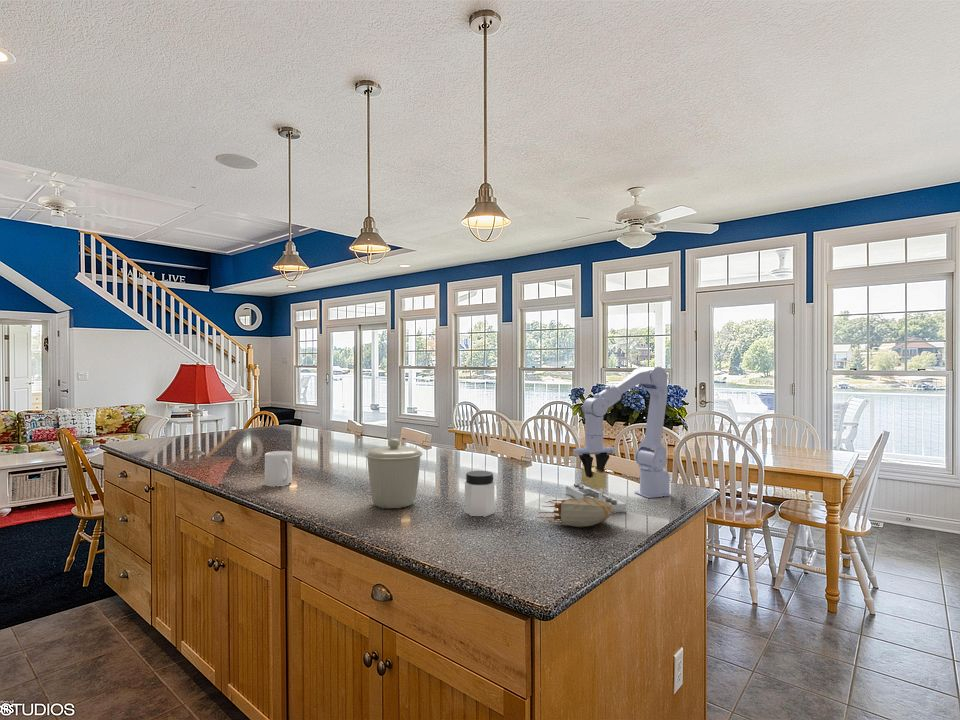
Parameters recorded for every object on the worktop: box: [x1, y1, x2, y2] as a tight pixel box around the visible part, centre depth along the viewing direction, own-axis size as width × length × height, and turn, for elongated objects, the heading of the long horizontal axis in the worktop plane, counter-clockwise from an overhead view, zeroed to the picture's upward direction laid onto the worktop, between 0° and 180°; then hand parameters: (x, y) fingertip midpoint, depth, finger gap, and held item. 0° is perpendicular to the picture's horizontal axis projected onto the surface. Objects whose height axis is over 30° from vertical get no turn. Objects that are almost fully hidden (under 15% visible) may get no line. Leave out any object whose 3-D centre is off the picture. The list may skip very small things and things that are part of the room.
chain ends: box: [565, 483, 627, 514], centre depth 172 cm, size 7×26×3 cm, turn 19°
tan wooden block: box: [581, 466, 607, 490], centre depth 172 cm, size 4×9×5 cm, turn 19°
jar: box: [464, 470, 495, 518], centre depth 159 cm, size 9×8×12 cm
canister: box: [364, 438, 424, 509], centre depth 168 cm, size 18×18×21 cm
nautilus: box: [538, 496, 614, 528], centre depth 149 cm, size 8×22×15 cm
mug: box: [264, 450, 293, 486], centre depth 194 cm, size 10×12×12 cm
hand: (594, 476), depth 172 cm, fingers closed on tan wooden block, 3 cm apart
